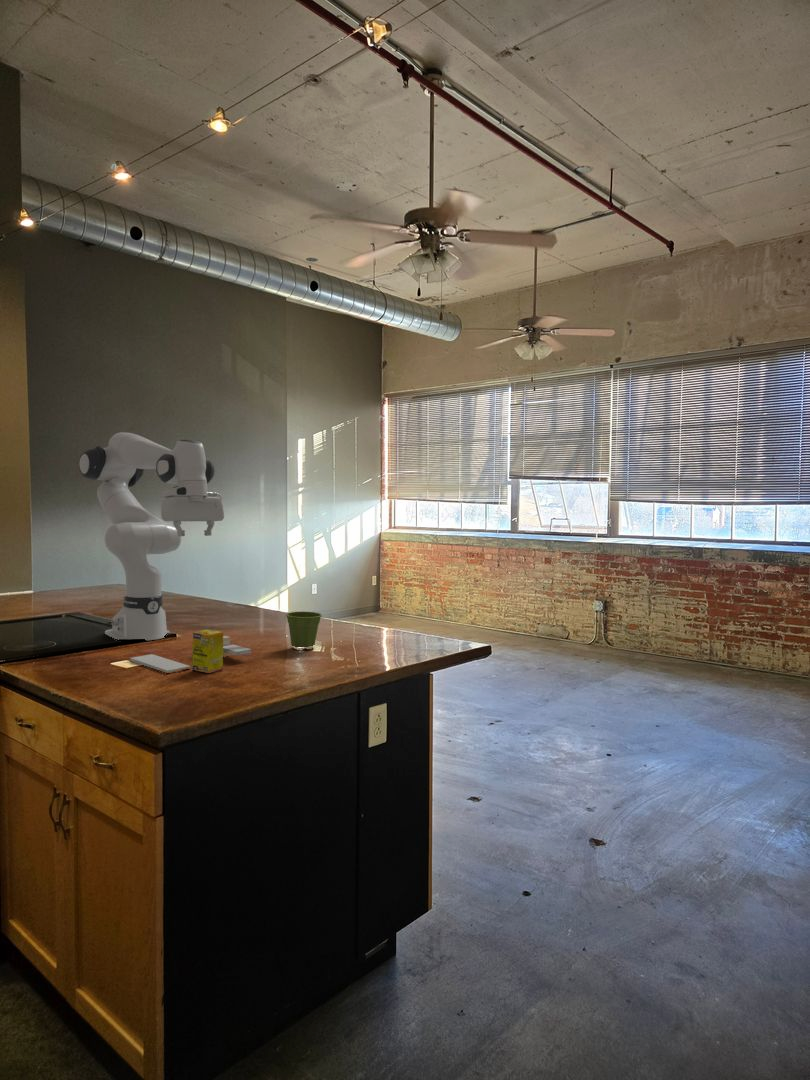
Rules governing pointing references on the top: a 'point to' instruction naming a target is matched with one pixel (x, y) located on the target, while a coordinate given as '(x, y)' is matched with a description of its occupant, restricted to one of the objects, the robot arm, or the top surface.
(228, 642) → the grey elongated block
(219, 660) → the supplement box
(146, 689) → the top surface
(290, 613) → the plant pot
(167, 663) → the rest mat
